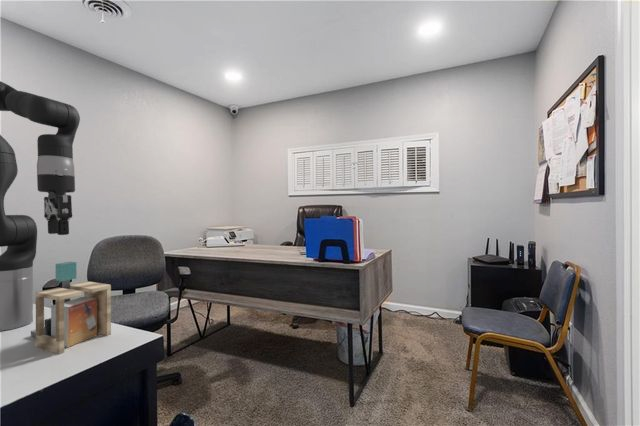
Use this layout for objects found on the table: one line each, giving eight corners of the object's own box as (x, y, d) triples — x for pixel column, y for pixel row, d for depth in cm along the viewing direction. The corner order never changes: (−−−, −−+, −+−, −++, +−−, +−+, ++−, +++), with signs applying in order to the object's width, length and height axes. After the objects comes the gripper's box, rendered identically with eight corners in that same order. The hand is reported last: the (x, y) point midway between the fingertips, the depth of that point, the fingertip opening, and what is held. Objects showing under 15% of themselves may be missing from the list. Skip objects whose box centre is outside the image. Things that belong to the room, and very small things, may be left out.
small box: (67, 348, 73) (67, 307, 73) (50, 346, 74) (50, 305, 74) (98, 335, 81) (98, 297, 80) (81, 333, 82) (81, 296, 82)
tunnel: (35, 346, 73) (35, 292, 73) (88, 328, 85) (88, 281, 84) (59, 354, 70) (59, 296, 70) (110, 334, 81) (110, 284, 81)
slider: (42, 342, 75) (42, 265, 75) (82, 328, 83) (81, 260, 83) (48, 343, 74) (48, 266, 74) (87, 330, 82) (87, 260, 82)
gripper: (30, 175, 79) (32, 234, 79) (45, 170, 71) (47, 236, 71) (65, 177, 85) (67, 232, 85) (82, 173, 77) (84, 234, 77)
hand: (58, 234), depth 78 cm, fingers open, 8 cm apart
